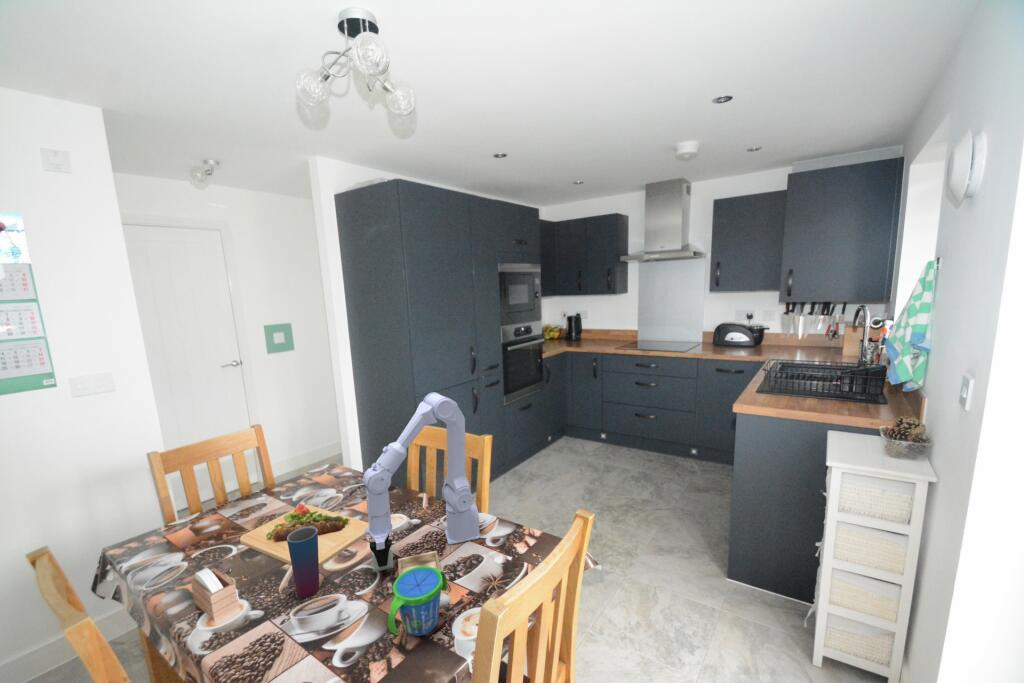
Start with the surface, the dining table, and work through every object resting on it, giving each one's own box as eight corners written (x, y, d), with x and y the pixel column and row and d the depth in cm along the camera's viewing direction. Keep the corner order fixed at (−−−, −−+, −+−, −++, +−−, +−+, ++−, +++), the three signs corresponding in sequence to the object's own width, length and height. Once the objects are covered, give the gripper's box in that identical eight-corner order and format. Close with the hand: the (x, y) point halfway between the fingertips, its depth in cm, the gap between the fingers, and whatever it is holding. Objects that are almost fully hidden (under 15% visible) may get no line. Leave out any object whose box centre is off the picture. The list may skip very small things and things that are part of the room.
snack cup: (405, 662, 82) (401, 614, 81) (376, 635, 88) (372, 591, 87) (463, 613, 93) (461, 571, 92) (433, 593, 100) (431, 554, 99)
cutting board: (236, 543, 127) (233, 520, 126) (305, 508, 147) (303, 488, 147) (310, 575, 110) (307, 549, 109) (377, 530, 131) (375, 507, 130)
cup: (311, 601, 99) (305, 543, 98) (286, 598, 101) (280, 541, 99) (329, 582, 106) (323, 527, 104) (305, 580, 107) (300, 525, 106)
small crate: (392, 556, 116) (391, 540, 115) (393, 567, 111) (391, 550, 110) (374, 560, 114) (372, 543, 114) (373, 572, 109) (372, 554, 109)
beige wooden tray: (437, 560, 113) (436, 550, 112) (442, 585, 103) (441, 574, 103) (398, 569, 110) (397, 559, 110) (400, 595, 100) (399, 584, 100)
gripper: (364, 502, 117) (368, 547, 118) (361, 529, 103) (366, 579, 104) (390, 497, 119) (394, 542, 120) (391, 523, 105) (395, 573, 106)
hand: (383, 559), depth 112 cm, fingers closed on small crate, 5 cm apart
